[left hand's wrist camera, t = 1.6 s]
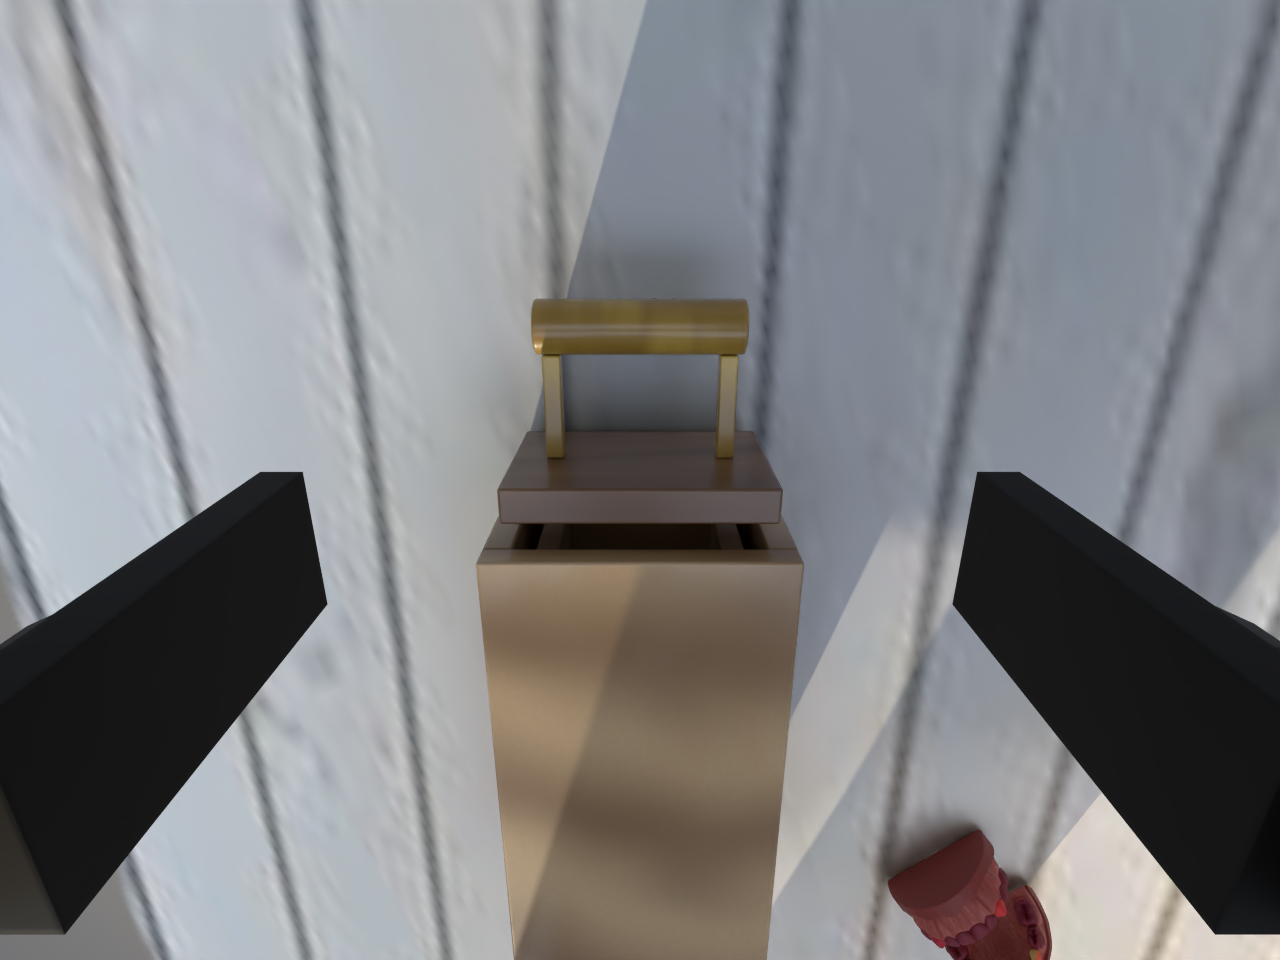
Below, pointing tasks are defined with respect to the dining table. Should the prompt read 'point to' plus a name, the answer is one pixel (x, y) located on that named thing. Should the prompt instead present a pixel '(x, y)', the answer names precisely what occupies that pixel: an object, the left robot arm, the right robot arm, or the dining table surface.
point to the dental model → (973, 905)
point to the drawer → (640, 439)
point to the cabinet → (640, 741)
